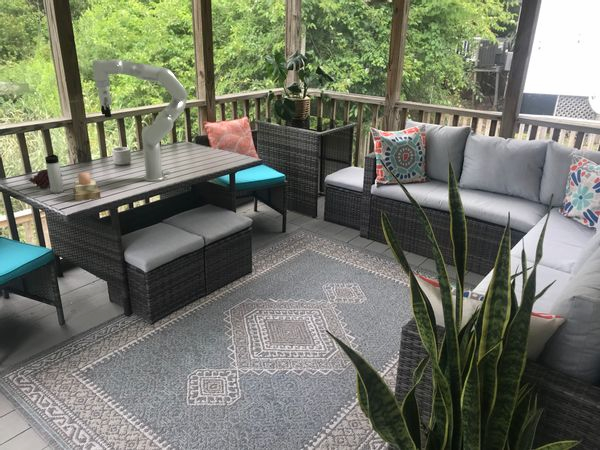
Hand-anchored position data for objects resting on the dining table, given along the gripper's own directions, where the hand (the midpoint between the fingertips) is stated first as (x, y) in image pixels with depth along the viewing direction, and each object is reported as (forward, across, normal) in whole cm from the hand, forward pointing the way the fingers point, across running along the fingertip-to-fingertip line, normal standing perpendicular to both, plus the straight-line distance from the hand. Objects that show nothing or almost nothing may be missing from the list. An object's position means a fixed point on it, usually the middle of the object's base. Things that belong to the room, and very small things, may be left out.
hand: (106, 115), depth 269 cm
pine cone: (+38, +6, +35) cm, 52 cm away
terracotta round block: (+31, -21, +18) cm, 41 cm away
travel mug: (+38, -6, +31) cm, 50 cm away
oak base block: (+39, -21, +18) cm, 48 cm away
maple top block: (+35, -21, +18) cm, 44 cm away
